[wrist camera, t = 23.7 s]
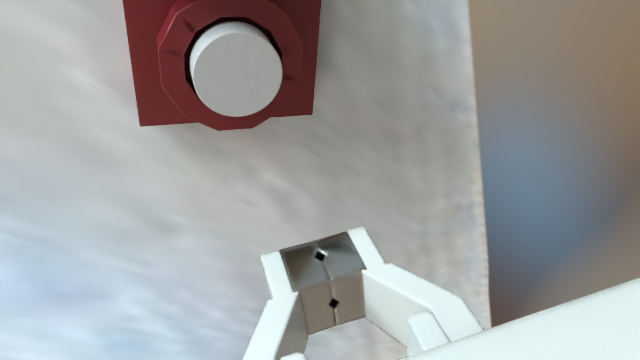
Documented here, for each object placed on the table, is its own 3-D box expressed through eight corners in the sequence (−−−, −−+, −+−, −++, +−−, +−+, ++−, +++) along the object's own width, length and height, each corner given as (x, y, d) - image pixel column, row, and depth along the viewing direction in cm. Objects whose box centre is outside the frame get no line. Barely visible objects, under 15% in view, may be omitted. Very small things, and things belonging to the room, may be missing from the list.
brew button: (273, 100, 28) (281, 114, 26) (192, 104, 26) (195, 120, 25) (276, 20, 25) (284, 30, 24) (186, 21, 24) (189, 32, 22)
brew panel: (302, 99, 32) (321, 128, 29) (139, 109, 29) (140, 142, 26) (311, -33, 28) (334, -15, 25) (119, -36, 25) (118, -17, 22)
